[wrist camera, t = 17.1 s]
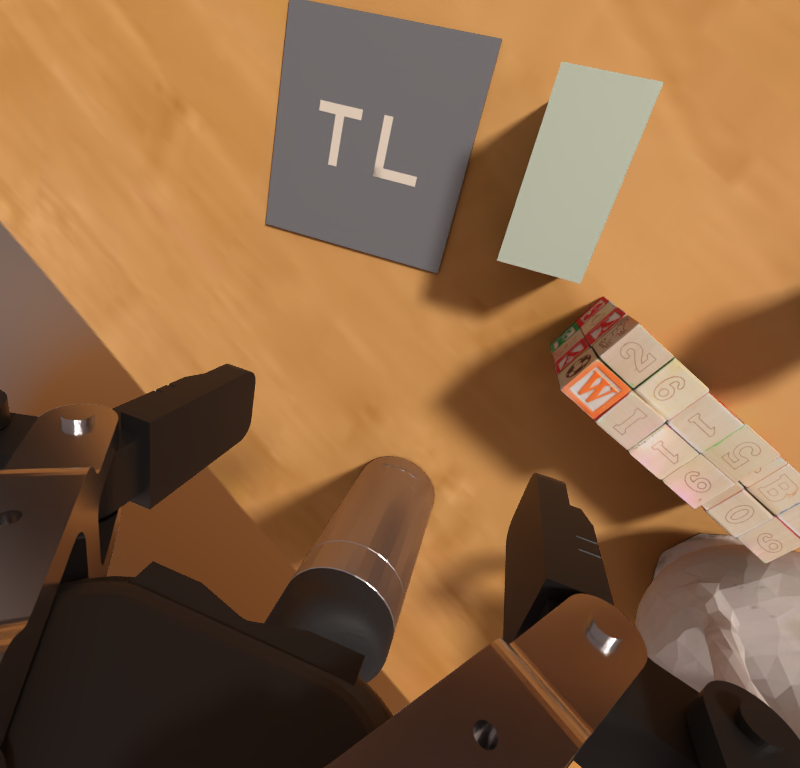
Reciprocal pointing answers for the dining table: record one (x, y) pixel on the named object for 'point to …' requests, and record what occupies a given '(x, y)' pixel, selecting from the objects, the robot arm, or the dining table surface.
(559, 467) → the dining table surface
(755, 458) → the stack of blocks
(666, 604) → the ceramic pitcher
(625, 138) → the sage block
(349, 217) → the gray tile
